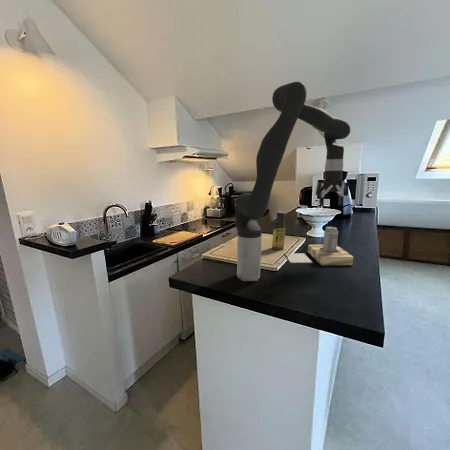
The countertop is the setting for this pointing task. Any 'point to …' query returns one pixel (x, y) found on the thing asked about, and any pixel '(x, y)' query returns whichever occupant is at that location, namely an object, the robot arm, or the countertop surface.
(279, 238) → the sauce bottle
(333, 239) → the energy drink can
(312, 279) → the countertop surface
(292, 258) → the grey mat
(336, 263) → the socket block
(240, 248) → the robot arm
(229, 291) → the countertop surface
